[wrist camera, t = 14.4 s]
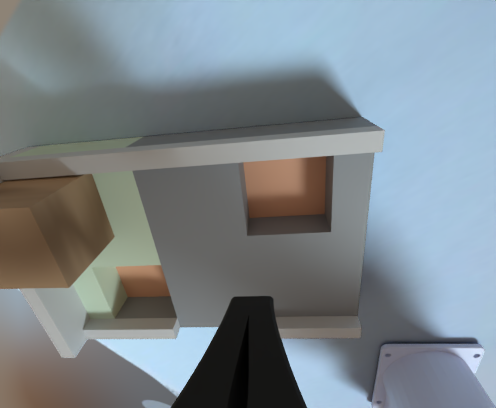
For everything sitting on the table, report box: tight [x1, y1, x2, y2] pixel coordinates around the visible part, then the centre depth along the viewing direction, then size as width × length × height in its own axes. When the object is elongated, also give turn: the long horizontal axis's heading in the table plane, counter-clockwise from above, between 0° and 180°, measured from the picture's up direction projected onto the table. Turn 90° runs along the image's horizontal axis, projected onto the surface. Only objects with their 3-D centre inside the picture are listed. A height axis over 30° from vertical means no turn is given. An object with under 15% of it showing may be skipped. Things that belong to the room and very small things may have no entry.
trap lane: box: [0, 117, 385, 358], centre depth 18 cm, size 14×21×5 cm, turn 96°
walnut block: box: [0, 174, 115, 289], centre depth 15 cm, size 4×4×4 cm
